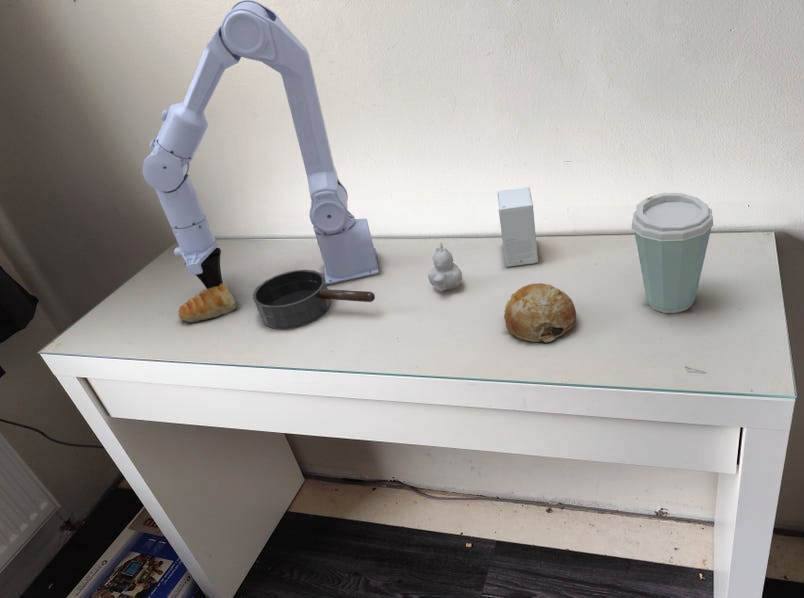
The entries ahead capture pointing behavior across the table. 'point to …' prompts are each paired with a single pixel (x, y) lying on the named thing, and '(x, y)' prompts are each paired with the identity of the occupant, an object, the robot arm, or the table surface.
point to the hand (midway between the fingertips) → (217, 292)
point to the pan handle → (346, 295)
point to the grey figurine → (444, 270)
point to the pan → (291, 299)
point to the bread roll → (539, 313)
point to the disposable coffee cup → (671, 248)
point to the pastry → (208, 304)
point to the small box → (517, 226)
